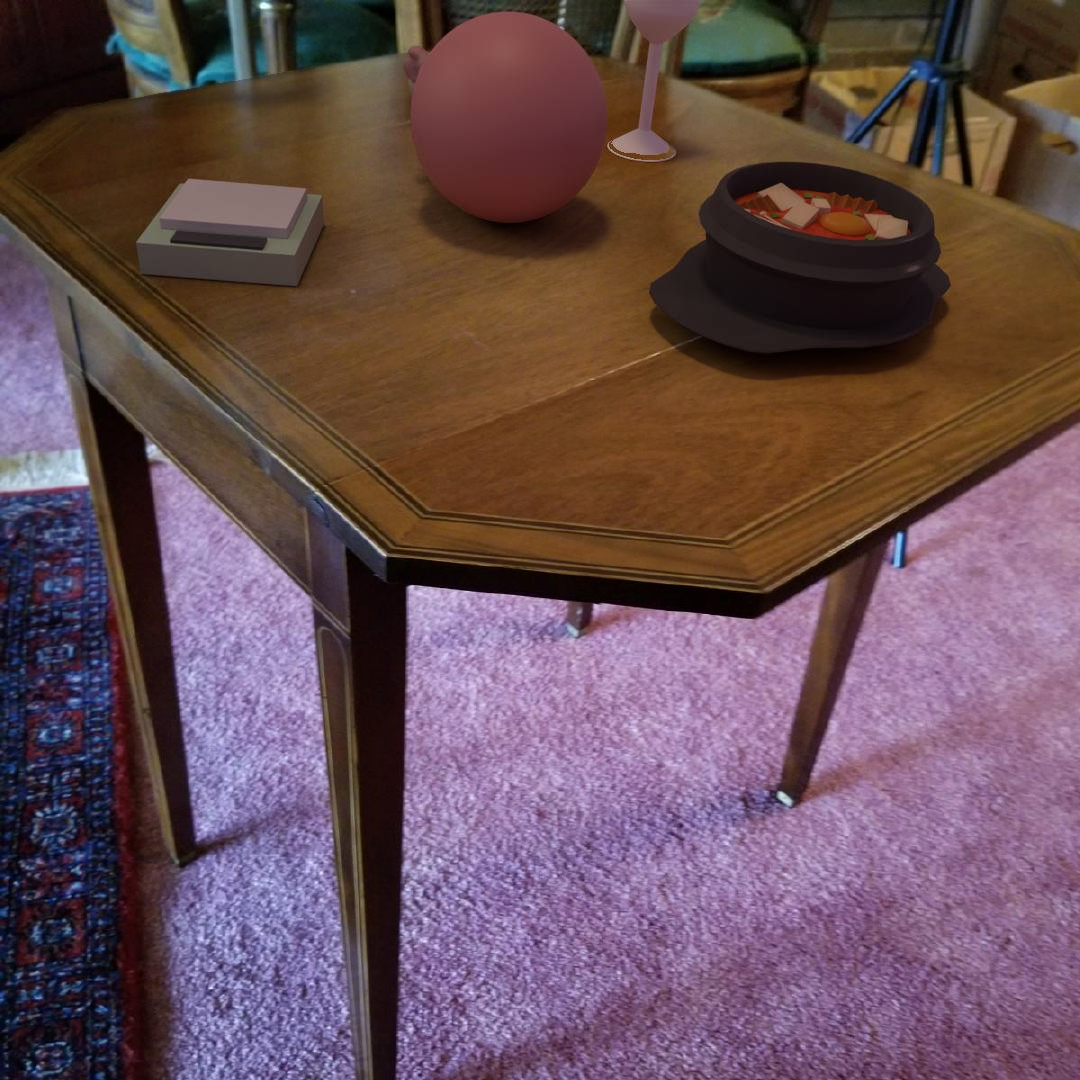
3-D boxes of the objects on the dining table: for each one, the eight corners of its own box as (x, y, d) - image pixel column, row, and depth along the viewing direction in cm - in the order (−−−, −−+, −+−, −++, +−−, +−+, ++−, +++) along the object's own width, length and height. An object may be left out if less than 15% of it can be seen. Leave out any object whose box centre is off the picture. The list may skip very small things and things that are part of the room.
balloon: (487, 152, 101) (496, -30, 91) (634, 229, 90) (661, 30, 80) (344, 181, 93) (337, -16, 83) (485, 271, 81) (496, 54, 72)
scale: (140, 274, 77) (133, 231, 75) (183, 213, 85) (178, 173, 83) (296, 286, 77) (294, 244, 75) (324, 224, 86) (322, 184, 84)
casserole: (777, 413, 69) (808, 292, 63) (590, 295, 80) (602, 183, 74) (1001, 320, 82) (1042, 212, 76) (813, 229, 92) (838, 130, 87)
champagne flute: (598, 137, 107) (630, -150, 91) (663, 136, 108) (704, -146, 93) (618, 162, 102) (654, -137, 86) (685, 161, 103) (733, -133, 88)
